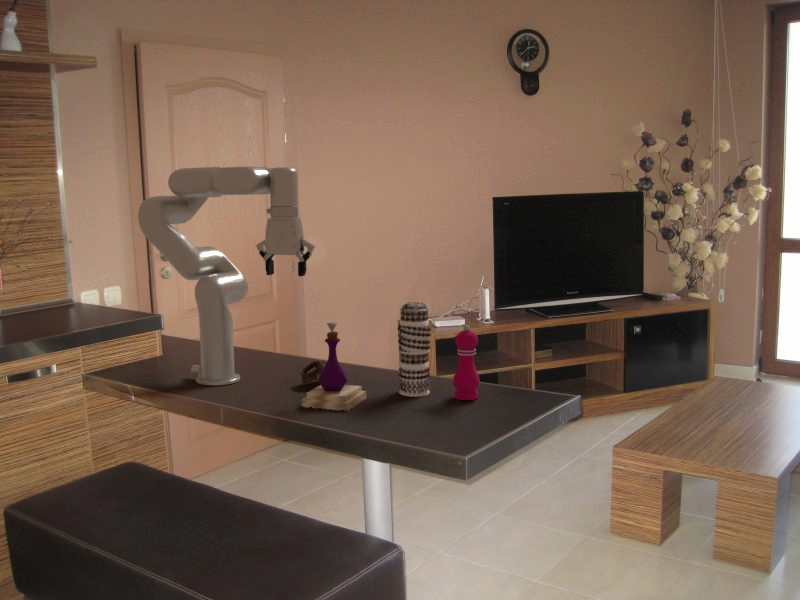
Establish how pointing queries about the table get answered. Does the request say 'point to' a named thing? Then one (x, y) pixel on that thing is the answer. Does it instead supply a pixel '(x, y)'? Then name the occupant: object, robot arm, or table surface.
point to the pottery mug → (314, 374)
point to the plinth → (334, 398)
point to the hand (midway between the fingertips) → (285, 275)
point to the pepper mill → (466, 366)
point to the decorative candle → (414, 350)
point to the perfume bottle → (332, 365)
